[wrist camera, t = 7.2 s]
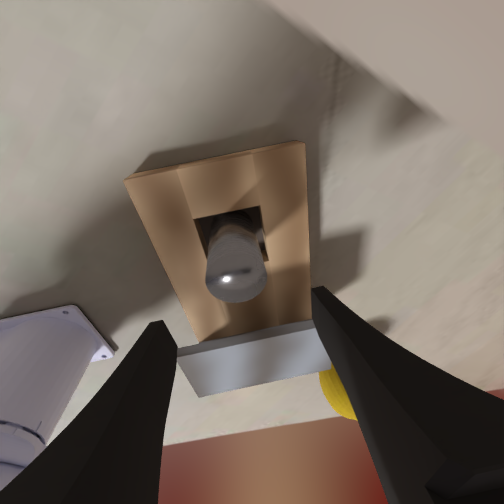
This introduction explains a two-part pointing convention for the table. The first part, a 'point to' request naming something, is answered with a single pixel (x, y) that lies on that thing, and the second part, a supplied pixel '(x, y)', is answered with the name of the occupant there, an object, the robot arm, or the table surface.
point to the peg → (234, 258)
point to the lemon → (336, 393)
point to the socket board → (273, 252)
